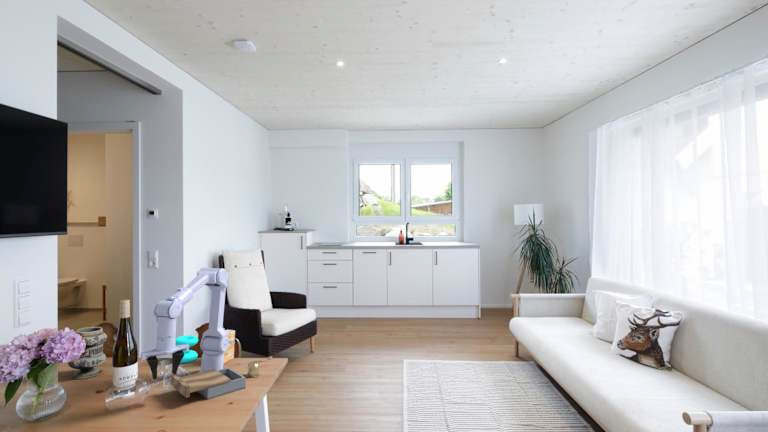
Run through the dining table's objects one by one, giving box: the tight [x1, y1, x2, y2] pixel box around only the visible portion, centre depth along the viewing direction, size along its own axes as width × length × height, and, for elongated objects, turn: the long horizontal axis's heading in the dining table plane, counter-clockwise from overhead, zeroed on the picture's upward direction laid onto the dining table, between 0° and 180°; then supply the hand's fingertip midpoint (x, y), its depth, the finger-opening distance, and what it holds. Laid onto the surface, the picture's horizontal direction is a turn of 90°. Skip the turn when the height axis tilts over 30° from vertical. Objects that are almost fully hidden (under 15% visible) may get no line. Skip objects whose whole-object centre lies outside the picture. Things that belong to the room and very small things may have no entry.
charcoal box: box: [196, 367, 247, 400], centre depth 143 cm, size 14×14×4 cm
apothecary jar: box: [67, 326, 108, 380], centre depth 152 cm, size 12×12×18 cm
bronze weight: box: [246, 361, 260, 379], centre depth 155 cm, size 4×4×5 cm
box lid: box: [170, 369, 231, 399], centre depth 138 cm, size 14×16×3 cm
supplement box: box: [223, 329, 236, 365], centre depth 171 cm, size 8×5×13 cm, turn 168°
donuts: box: [175, 334, 199, 364], centre depth 171 cm, size 10×10×10 cm
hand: (164, 376), depth 129 cm, fingers open, 5 cm apart
